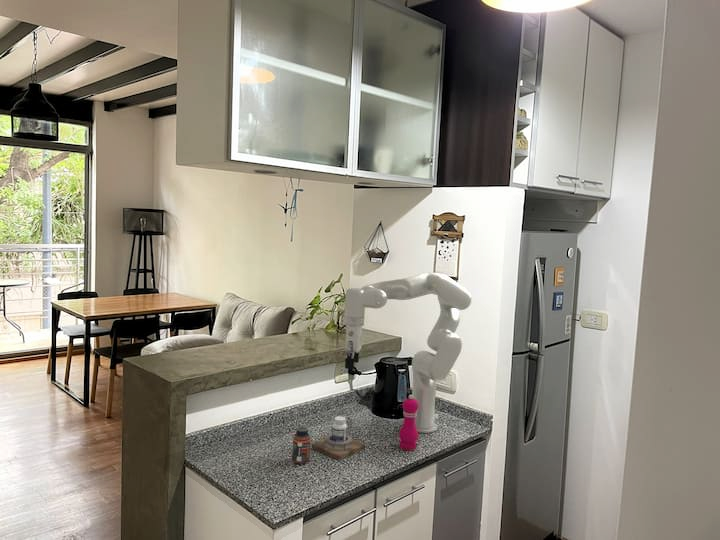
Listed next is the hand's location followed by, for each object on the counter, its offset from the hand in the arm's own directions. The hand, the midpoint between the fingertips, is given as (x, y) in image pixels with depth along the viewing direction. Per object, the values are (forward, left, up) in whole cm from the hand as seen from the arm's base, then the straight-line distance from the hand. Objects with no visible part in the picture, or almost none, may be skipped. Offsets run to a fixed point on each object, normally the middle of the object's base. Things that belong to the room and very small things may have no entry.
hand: (351, 365), depth 202 cm
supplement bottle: (+27, +2, -28) cm, 39 cm away
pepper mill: (-10, +21, -28) cm, 37 cm away
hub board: (+10, +4, -28) cm, 30 cm away
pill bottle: (+10, +4, -27) cm, 29 cm away
